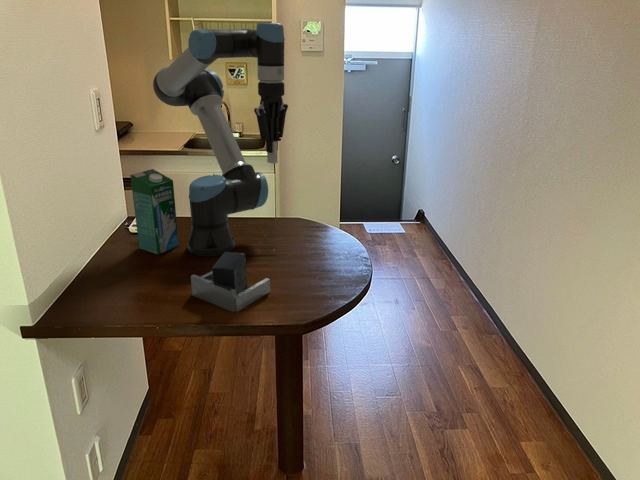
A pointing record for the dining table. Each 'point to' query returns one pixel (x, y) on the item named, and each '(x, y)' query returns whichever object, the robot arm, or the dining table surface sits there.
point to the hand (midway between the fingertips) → (272, 162)
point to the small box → (231, 271)
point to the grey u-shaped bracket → (227, 292)
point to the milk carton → (154, 211)
